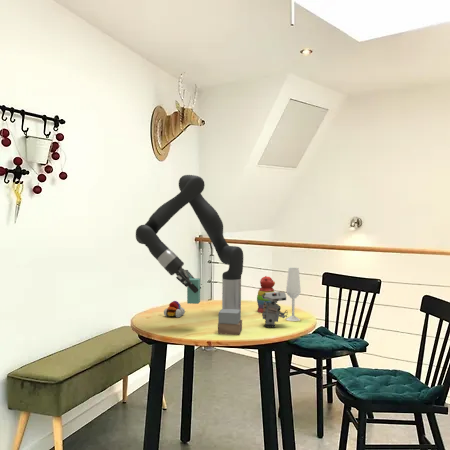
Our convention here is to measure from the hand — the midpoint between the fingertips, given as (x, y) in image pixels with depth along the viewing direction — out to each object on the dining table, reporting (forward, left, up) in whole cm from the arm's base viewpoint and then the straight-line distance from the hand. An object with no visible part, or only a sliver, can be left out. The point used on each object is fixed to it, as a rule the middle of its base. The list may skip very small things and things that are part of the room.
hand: (198, 290), depth 202 cm
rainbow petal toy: (-24, -16, -17) cm, 34 cm away
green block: (0, -2, -5) cm, 6 cm away
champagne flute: (-26, +40, -17) cm, 51 cm away
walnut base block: (+2, +14, -17) cm, 22 cm away
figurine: (-12, +32, -17) cm, 38 cm away
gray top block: (+2, +14, -12) cm, 19 cm away
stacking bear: (-42, +27, -17) cm, 53 cm away
